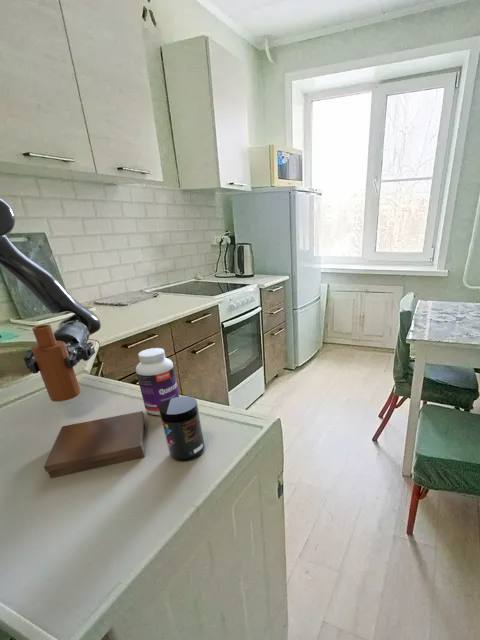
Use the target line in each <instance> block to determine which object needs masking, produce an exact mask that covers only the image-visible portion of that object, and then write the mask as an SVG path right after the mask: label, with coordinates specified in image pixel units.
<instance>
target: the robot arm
mask: <svg viewBox="0 0 480 640" xmlns="http://www.w3.org/2000/svg"><path fill="white" fill-rule="evenodd" d="M15 225H16V216H15V213H14V211H13V209H12V207H11V206H10V205H9V204H8V203H7V202H6V201H5V200H3V199H2V198H0V265H1V266H2V267H3V268H4V269H6V270H7V271H8V272H9V273H10V274H11V275H13V276H14V277H15V278H16V279H17V281H19V282H20V283H21V284H22V285H23V286H24V287H25V288H26V289H27V290H28V291H29V292H30V293H31V294H32V295H33V296H34V298H35V299H37V301H38V302H40V304H41V305H42V306H43V307H44V308H45V309H46V310H47V311H48V312H49V313H51V314H53V315H57V314H61V313H66V312H69V313H73V314H72V315H70V316H68V317H66V318H65V319H63V320H61V321H60V322H59V323H58V328H57V329H55V331H53V333H54V336H55V339H56V341H64V342H65V345H66V348H67V351H68V354H69V355H68V357H67V358H66V362H67V365H68V368H73V369H74V367H75V366H77V365H78V363H80V362H81V361H82V360H83V361H84V362H88V361H89V360H90V359H91V358H93V356H94V355H95V353H96V350H95V347H94V343H93V342H92V341H90V342H89V339H90V336H91V335H93V334H95V333H97V332H99V330H101V327H102V326H101V324H102V322H101V320H100V318H99V317H98V316H97V314H95V313H94V312H93V311H92V310H90V309H89V308H88V307H86V306H84V305H83V304H82V303H80V302H79V301H78V300H76V298H74V297H73V296H72V295H71V294H70V293H69V292H68V291H67V290H66V289H65V288H64V286H63V285H62V284H61V283H60V281H58V280H57V278H56V277H54V275H52V274H51V273H50V272H49V271H48V270H47V269H45V268H43V267H42V266H41V265H40V264H38V263H36V262H35V261H34V260H32V259H31V258H29V257H28V256H26V255H25V253H23V252H22V251H21V250H20V249H18V247H16V246H15V245H14V244H13V242H12V241H11V240H10V239H9V237H8V235H9V234H10V233H11V232H12V231H13V230H14V227H15ZM23 362H24V364H25V366H26V369H28V370H29V371H30V372H31V373H32V374H33V375H35V374H38V373H40V371H39V368H38V365H37V363H36V360H35V358H34V355H33V352H32V350H31V349H28V350H27V351H26V352H25V354H24V356H23Z"/></svg>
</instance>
